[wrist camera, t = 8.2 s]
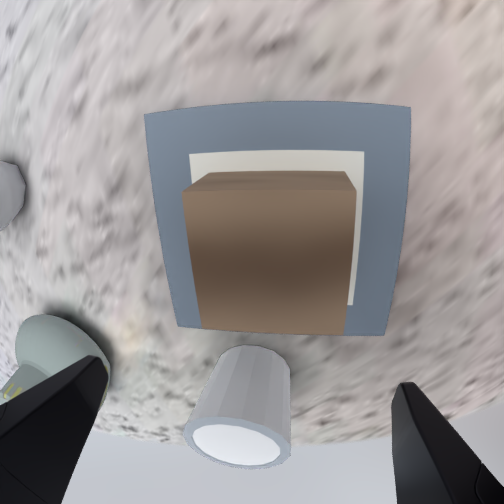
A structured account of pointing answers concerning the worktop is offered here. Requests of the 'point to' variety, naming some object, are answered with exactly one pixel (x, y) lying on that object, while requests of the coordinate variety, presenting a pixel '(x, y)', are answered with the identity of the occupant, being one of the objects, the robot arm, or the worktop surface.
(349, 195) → the walnut block
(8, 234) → the worktop surface
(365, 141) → the board
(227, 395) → the white cup
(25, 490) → the robot arm
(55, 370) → the air freshener
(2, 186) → the salt shaker
